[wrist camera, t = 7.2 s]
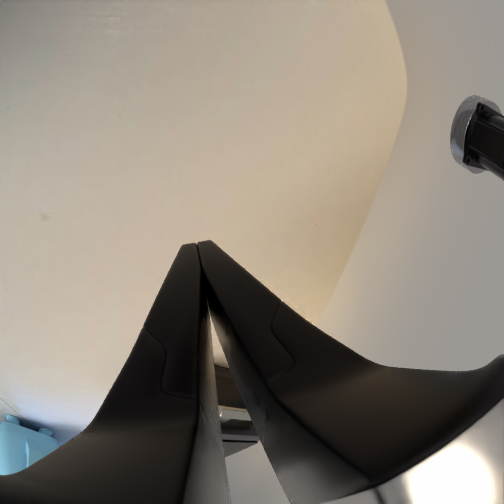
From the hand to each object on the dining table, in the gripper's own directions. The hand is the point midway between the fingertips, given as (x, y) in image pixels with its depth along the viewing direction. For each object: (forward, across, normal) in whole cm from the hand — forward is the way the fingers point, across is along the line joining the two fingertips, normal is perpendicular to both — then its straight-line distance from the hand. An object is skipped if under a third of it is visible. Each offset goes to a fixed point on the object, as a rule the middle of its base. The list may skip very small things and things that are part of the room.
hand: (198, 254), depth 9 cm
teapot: (+11, +41, +41) cm, 59 cm away
